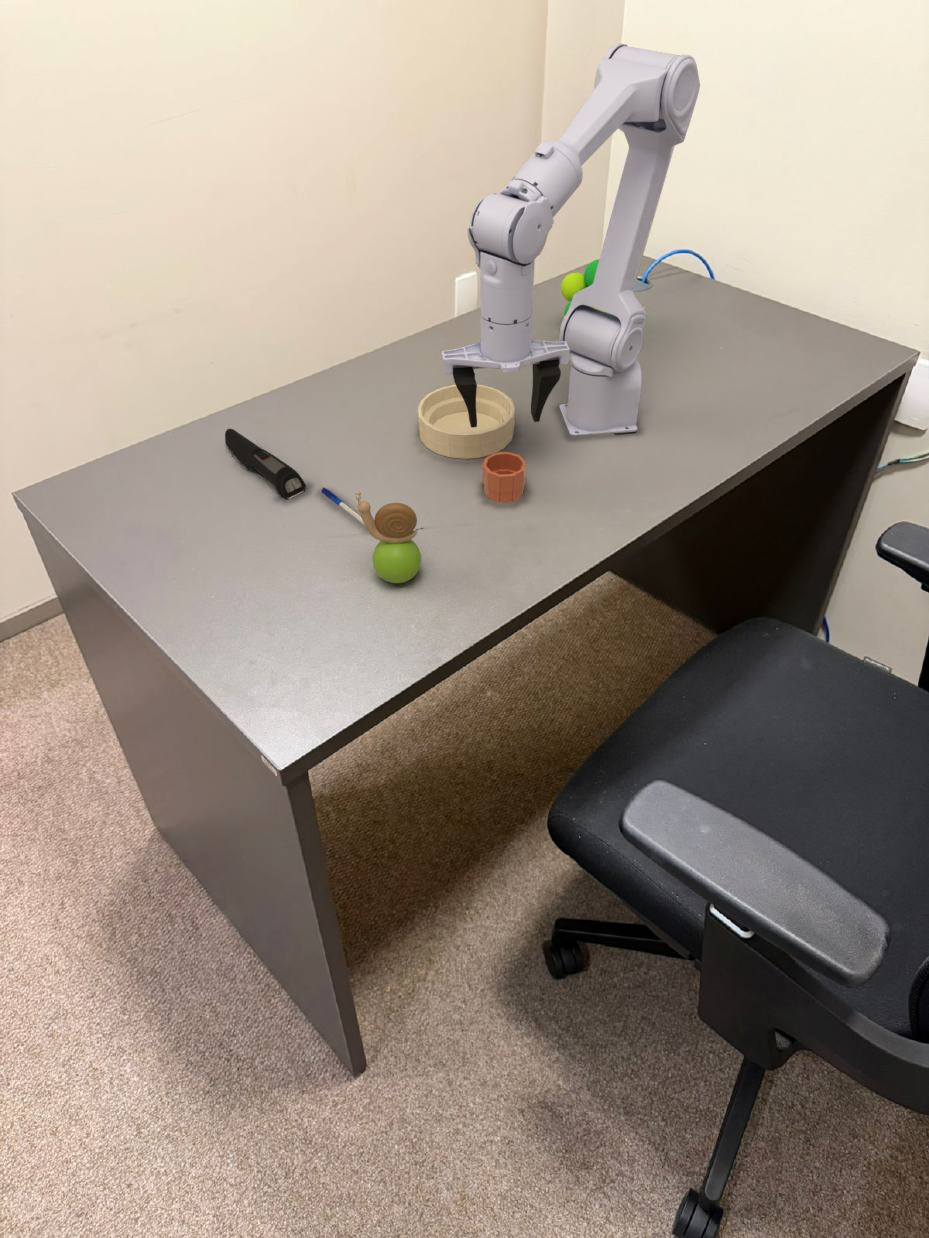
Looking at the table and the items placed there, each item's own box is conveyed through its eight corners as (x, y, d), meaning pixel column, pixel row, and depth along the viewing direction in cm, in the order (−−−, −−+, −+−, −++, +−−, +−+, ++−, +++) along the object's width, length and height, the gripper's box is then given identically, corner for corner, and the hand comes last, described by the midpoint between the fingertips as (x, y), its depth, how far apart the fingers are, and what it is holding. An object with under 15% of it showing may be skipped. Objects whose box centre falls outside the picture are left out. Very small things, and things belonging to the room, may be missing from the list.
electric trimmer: (245, 442, 119) (240, 422, 117) (308, 489, 110) (305, 469, 108) (221, 452, 117) (216, 432, 115) (284, 502, 109) (279, 481, 106)
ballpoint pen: (319, 494, 110) (318, 487, 109) (325, 491, 110) (324, 484, 109) (370, 531, 104) (370, 525, 103) (376, 528, 104) (375, 522, 104)
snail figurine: (366, 563, 100) (355, 478, 92) (421, 560, 100) (415, 474, 92) (366, 595, 96) (355, 509, 88) (423, 591, 97) (417, 505, 88)
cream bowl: (505, 406, 124) (505, 380, 121) (521, 457, 115) (522, 430, 112) (415, 414, 123) (414, 387, 120) (424, 465, 114) (422, 438, 111)
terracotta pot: (513, 477, 112) (514, 447, 109) (531, 500, 108) (533, 470, 105) (476, 486, 110) (476, 457, 107) (493, 510, 107) (494, 480, 104)
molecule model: (584, 295, 142) (553, 276, 135) (631, 271, 136) (601, 250, 130) (591, 344, 140) (560, 327, 134) (638, 322, 135) (608, 303, 128)
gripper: (445, 335, 91) (448, 443, 101) (578, 324, 93) (569, 433, 102) (437, 305, 96) (441, 412, 106) (564, 296, 98) (557, 402, 107)
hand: (504, 420), depth 104 cm, fingers open, 7 cm apart
